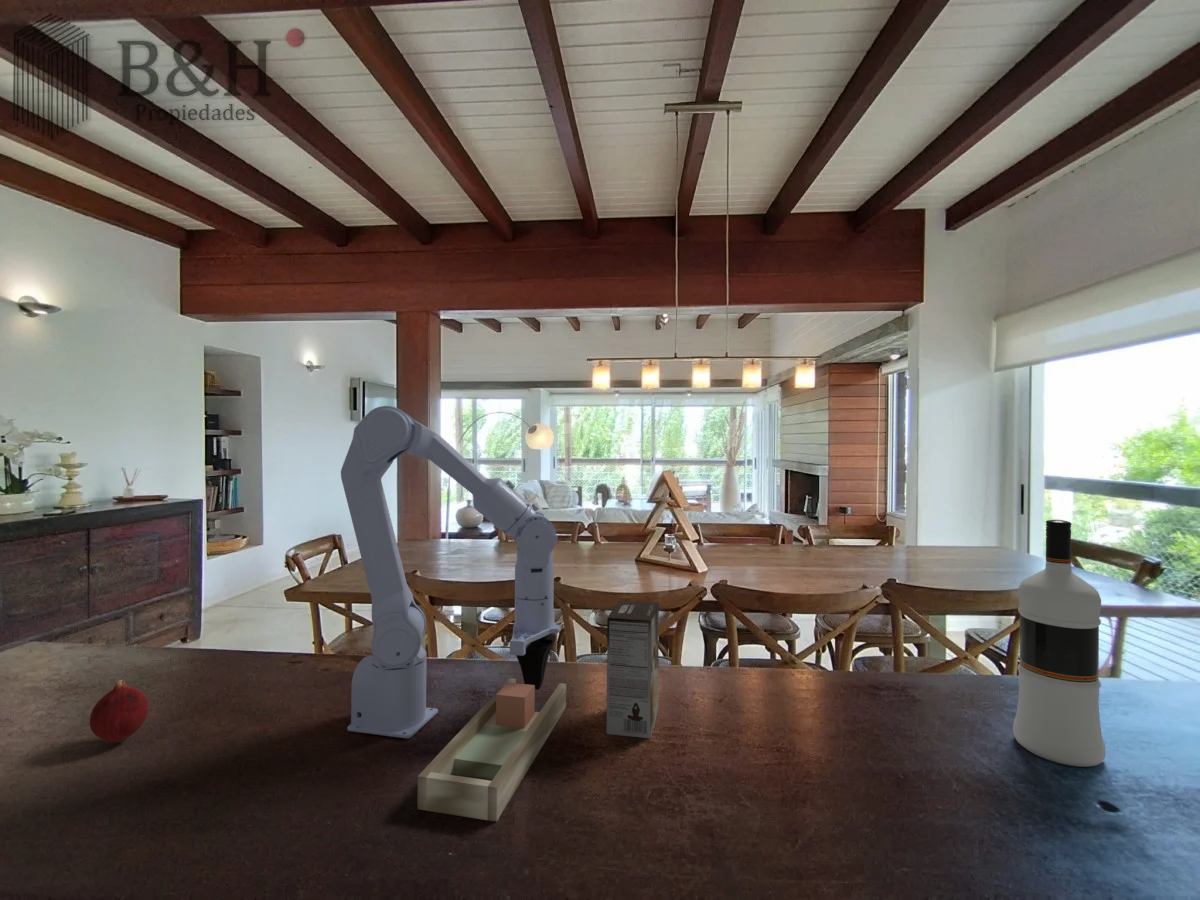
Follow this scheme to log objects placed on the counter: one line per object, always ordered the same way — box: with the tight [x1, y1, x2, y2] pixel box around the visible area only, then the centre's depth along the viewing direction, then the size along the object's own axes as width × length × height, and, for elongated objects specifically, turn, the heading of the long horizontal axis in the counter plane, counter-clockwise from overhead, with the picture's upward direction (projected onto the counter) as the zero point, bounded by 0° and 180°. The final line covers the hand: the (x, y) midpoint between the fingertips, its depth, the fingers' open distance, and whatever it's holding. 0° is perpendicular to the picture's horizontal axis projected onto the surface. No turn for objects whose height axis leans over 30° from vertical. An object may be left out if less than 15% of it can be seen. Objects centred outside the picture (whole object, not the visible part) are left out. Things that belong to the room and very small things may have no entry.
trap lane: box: [416, 677, 567, 823], centre depth 71 cm, size 9×26×4 cm, turn 168°
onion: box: [89, 679, 150, 745], centre depth 72 cm, size 6×6×8 cm
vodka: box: [1012, 519, 1106, 768], centre depth 72 cm, size 9×9×30 cm
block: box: [496, 682, 536, 728], centre depth 75 cm, size 4×4×4 cm
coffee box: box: [606, 600, 660, 740], centre depth 79 cm, size 9×6×16 cm
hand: (533, 687), depth 82 cm, fingers closed
